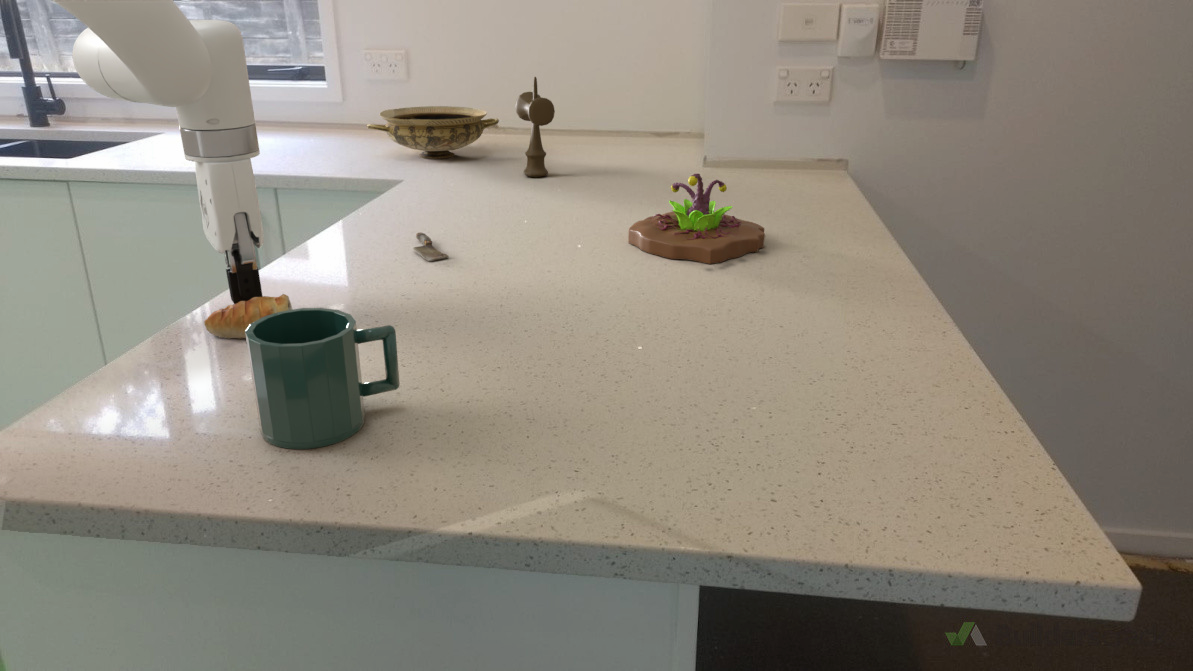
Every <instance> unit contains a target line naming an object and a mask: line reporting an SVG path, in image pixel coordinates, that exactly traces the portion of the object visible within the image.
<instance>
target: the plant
mask: <svg viewBox="0 0 1193 671" xmlns="http://www.w3.org/2000/svg"><path fill="white" fill-rule="evenodd" d="M687 184H688V185H689V186H688V185H687ZM687 184H685V183H683V182H674V183H673V184H671V185H670V190H671V192H673V193H678V192H679V191H680V188H681V189H682V188H683V189H684V190H685V192H686V193H688V195H690V198H691V200H692V201H690V200H689V199H687V198H685V199H683V205H682V204H681V203H679V202H677V201H672V200H669V201H668V204H670V205H671V206H672V208H673V209H672V210H671V211H669V212H665V213H662V214H661V213H655V214H654V215H652V216H648V217H646V218H644V219H641V220H638V221H635V222H634V223H633V224H632V225H631V226H630V227H629V228H628V232H627V233H628V236H627V242H628V244H630V245H632V246H635V247H637V248H639V249H640V250H641V251H642V252H645V253H647V254H650V255H653V256H654V255H655V256H659V257H662V258H665V259H670V260H686V261H687V260H688V261H694V262H699V263H704V264H708V265H712V264H718V263H719V264H720V263H723V262H725V261H727V260H732V259H736V258H739V257H742V256H744V255H746V254H749V253H756V252H759V249H762V248H764V244H765V237H766V233H765V227H763V226H762V225H761V224H758V223H756V222H753V221H748V220H743V219H740V218H738V217H736V216H735V215H728V214H725V213H727V212H728V211H729V212H730V210H731V209H732V208H733V205H730V206H729V205H728V206H724V207H720V208H718V209H717V210H715V208H716V204H717V203H716V200H711V194H712V191H713V188H714V186H715V185H717V186H718V191H720V192H721V193H725V192H726V191H727V188H728V187H727V186H728V185H726V183H725V182H723V181H722V180H718V179H715V180H712V181H711V182H710V183H709V185H707V187H706V188H705V190H704V182H703V177H701V173H693V174H691V175H690V176H689V177H688V179H687ZM695 186H696V187H697V188H696V192H695V191H694V190H693V189H692V188H691V187H695Z"/></svg>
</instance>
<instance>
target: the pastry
mask: <svg viewBox="0 0 1193 671" xmlns="http://www.w3.org/2000/svg"><path fill="white" fill-rule="evenodd" d="M262 296H263V297H253V298H251V299H250V300H249V301H240V302H238V303H237V304H234V303H233V304H228V305H227V306H226V307H225V308H219V309H218V310H215V311H213V312H211V313H210V315H209V316H208V317H207V318H206V319H205V320H204V326H205V329H206V331H207V332H208V333H210V334H211V335H213V336H215V337H219V338H220V339H222V338H225V339H238V340H239V339H240V340H242V339H246V334H245V331H246V330H247V328H248V327H249V325H250V324H251V323H253V322H255V321H257V320H259V319H260V318H262V317H264V316H268V315H271V314H274V313H278V312H281V311H287V310H293V307H292V303H291V300H290V297H289V295H287V294H284V293H282V294H280V296H268V295H267V296H266V295H262Z"/></svg>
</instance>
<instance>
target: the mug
mask: <svg viewBox="0 0 1193 671" xmlns="http://www.w3.org/2000/svg"><path fill="white" fill-rule="evenodd" d="M292 309H293V308H292ZM245 334H246V338H245V340H246V347H247V353H248V361H249V368H250V373H251V380H252V385H253V392H254V399H255V405H256V412H257V417H258V419H257V420H258V424H259V427H260V434H261V436H262V438H263V439H264V440H265V441H266V442H267V443H268V444H270V445H273V446H275V447H278V448H282V449H288V450H289V449H290V450H309V449H311V450H312V449H318V448H324V447H328V446H331V445H334V444H338V443H340V442H343V441H345V440H347V439H349V438H351V437H352V436H355V435H356V433H358V432H359V431H360V430H361V429H362V427H363V425H364V424H365V412H366V411H365V400H364V397H369V396H373V395H378V394H383V393H384V394H385V393H388V392H389V393H390V392H393V391H397V390H398V389H399V388H400V384H401V383H400V370H399V369H400V368H399V357H398V356H399V355H398V344H397V331H396V328H395V327H394V326H393V325H390V324H387V325H381V326H375V327H370V328H363V329H358V328H357V321H356V319H355V318H354V316H352V314H350V313H347V312H345V311H342V310H340V309H334V308H326V307H302V308H301V307H300V308H294V309H293V310H287V311H281V312H278V313H274V314H271V315H268V316H264V317H262V318H260V319H259V320H257V321H255V322H253V323H251V324H250V325H249V327H248V328H247V330H246V331H245ZM377 341H382V350H383V361H384V362H383V363H384V373H385V378H383V379H379V380H374V381H369V382H363V381H362V370H361V359H360V349H359V348H360V347H359V345H361V344H365V343H371V342H377Z"/></svg>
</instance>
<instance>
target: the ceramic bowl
mask: <svg viewBox="0 0 1193 671" xmlns="http://www.w3.org/2000/svg"><path fill="white" fill-rule="evenodd" d="M487 114H488V111H487V110H484V109H479V108H473V107H465V106H451V105H449V106H448V105H447V106H446V105H428V106H409V107H400V108H392V109H384V110H382V111H381V112H379V116H380V118H382V120H384V121H386V123H385V124H371V123H369V124H367V125H366V128H367V129H369V130H375V131H381V132H385V133H386V135H387V137H388V138H389V139H390V140H391V141H393V142H394V143H396V144H398V145H400V146H402V147H405V148H407V149H412V150H416V151H421V153H419V155H418V156H419V157H420V158H424V159H448V158H452V157H455V155H456V154H455V153H453V152H452V151H455V150H458V149H461V148H464V147H467V146H469V145H471V144H473V143H474V142H476V141H478V139H480V138H481V136H482V134H483V132H484V130H485V129H487V128H489V127H494V126H496V125H498V124H499V118H497V117H493V118H492V117H491V118H486V119H484V118H485V117H486V116H487Z"/></svg>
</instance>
